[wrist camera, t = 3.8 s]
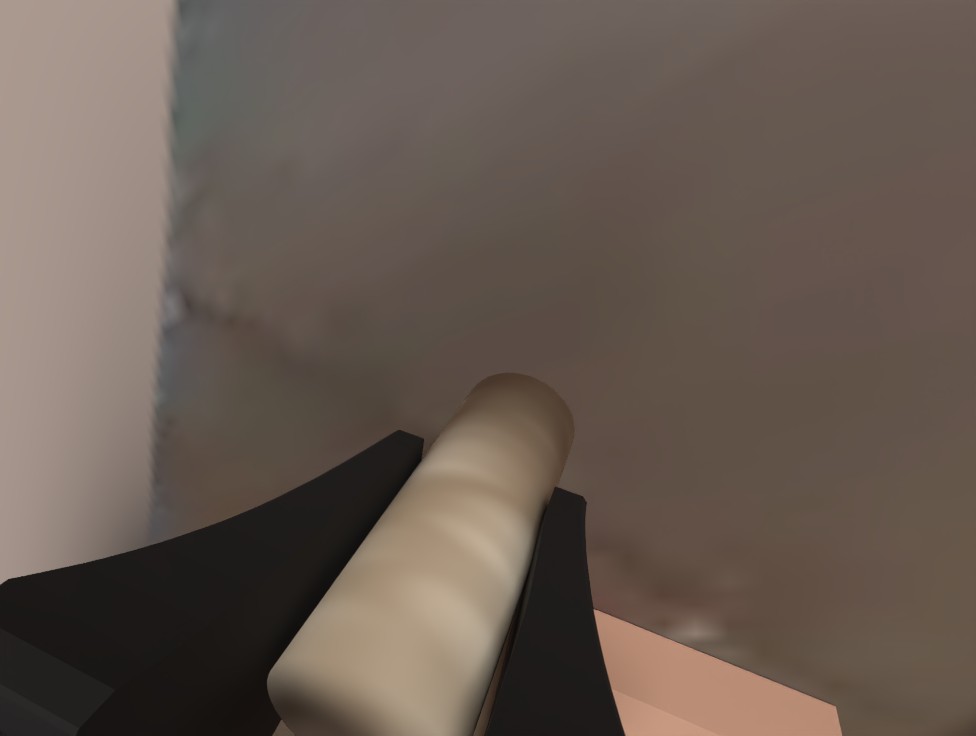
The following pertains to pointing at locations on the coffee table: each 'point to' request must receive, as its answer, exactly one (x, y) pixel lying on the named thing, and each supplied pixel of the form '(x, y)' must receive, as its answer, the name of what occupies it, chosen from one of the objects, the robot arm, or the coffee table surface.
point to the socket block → (699, 691)
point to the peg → (433, 578)
